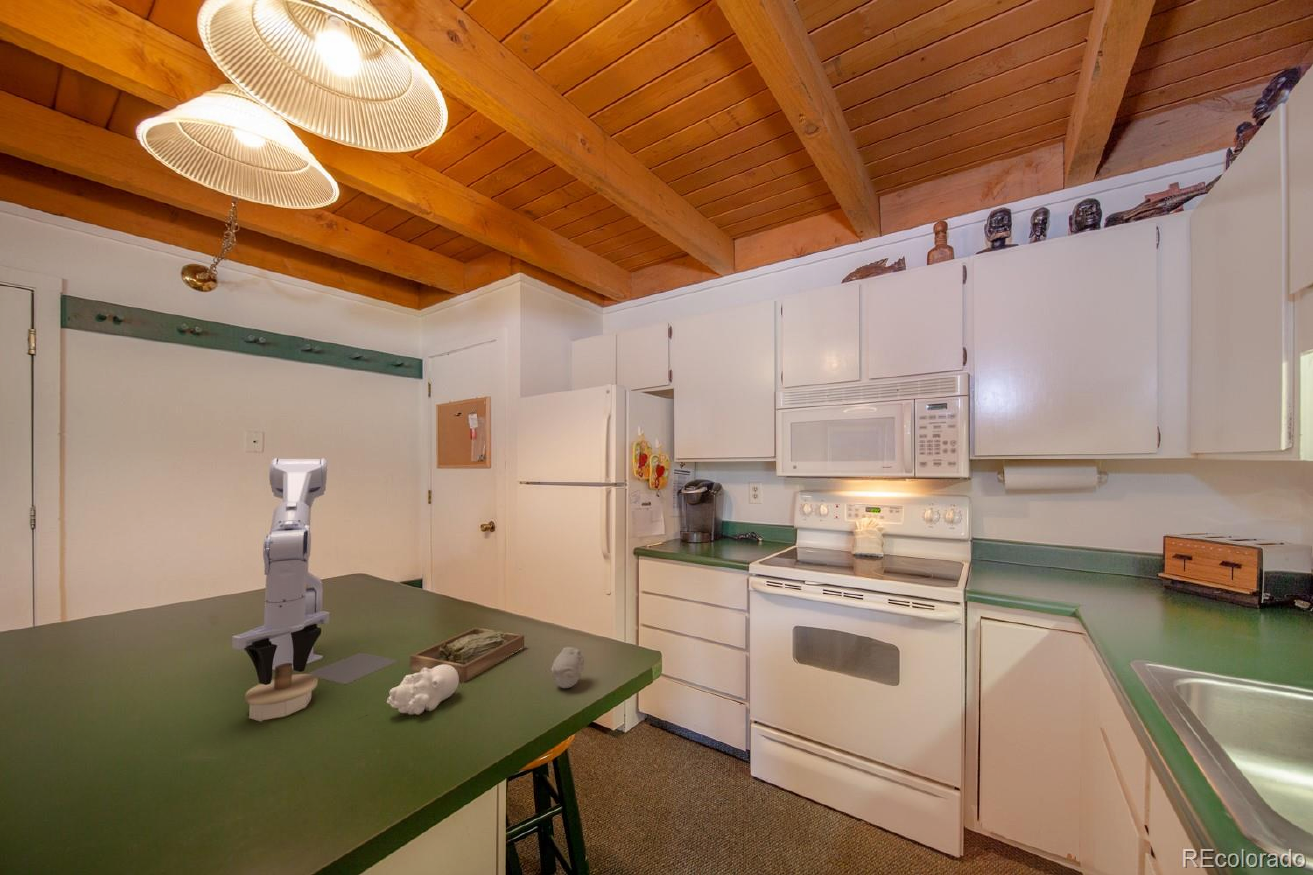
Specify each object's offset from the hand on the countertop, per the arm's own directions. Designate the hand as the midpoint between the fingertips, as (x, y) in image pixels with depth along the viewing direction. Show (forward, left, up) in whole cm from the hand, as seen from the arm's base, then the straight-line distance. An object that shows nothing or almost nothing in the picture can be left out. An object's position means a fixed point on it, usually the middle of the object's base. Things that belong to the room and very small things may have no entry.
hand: (282, 676), depth 84 cm
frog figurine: (+42, +26, -6) cm, 50 cm away
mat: (-4, +16, -5) cm, 17 cm away
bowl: (0, 0, -5) cm, 5 cm away
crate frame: (+15, +29, -5) cm, 33 cm away
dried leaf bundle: (+16, +29, -6) cm, 34 cm away
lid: (0, 0, -2) cm, 2 cm away
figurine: (+23, +10, -6) cm, 26 cm away
